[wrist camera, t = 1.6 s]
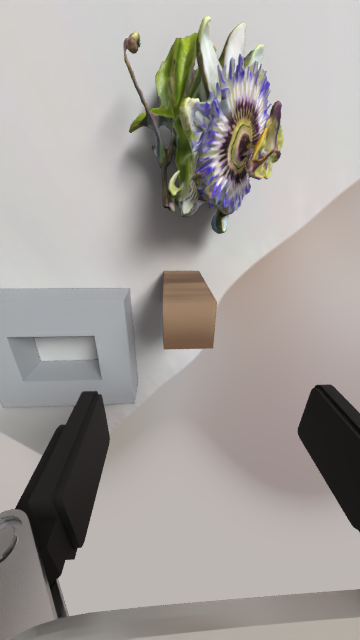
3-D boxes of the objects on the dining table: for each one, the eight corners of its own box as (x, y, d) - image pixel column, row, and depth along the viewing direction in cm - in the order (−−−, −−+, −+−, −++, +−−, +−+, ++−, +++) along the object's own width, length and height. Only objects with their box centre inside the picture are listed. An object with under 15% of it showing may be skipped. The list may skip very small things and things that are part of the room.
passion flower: (219, 176, 26) (253, 249, 20) (125, 167, 23) (133, 248, 18) (269, 17, 16) (359, 71, 11) (118, -28, 14) (131, 13, 8)
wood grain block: (163, 271, 25) (162, 302, 16) (198, 270, 25) (217, 302, 16) (164, 303, 27) (163, 349, 18) (197, 303, 27) (212, 348, 18)
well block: (-15, 288, 25) (-46, 301, 21) (129, 288, 26) (123, 300, 22) (22, 385, 31) (3, 408, 27) (138, 382, 32) (134, 403, 28)
